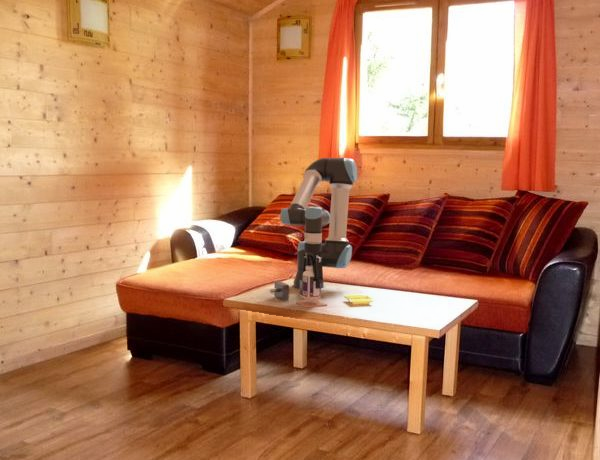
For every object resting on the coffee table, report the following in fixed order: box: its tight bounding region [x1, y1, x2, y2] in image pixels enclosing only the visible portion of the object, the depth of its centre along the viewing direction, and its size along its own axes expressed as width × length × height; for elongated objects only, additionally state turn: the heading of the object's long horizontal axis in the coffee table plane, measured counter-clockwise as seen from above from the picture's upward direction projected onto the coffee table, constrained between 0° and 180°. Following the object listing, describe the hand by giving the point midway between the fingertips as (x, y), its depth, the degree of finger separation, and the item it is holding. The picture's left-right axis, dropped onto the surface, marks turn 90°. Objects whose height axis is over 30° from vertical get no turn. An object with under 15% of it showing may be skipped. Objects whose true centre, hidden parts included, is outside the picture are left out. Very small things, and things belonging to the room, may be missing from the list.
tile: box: [295, 299, 328, 309], centre depth 281 cm, size 10×10×1 cm
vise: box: [269, 280, 303, 302], centre depth 294 cm, size 24×9×7 cm, turn 117°
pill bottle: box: [301, 265, 322, 301], centre depth 280 cm, size 8×8×14 cm
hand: (311, 293), depth 281 cm, fingers closed on pill bottle, 8 cm apart
